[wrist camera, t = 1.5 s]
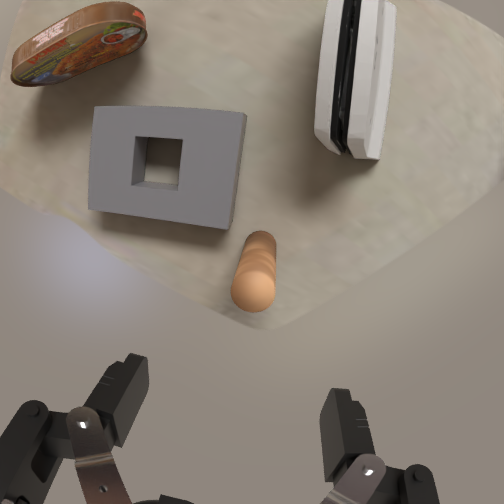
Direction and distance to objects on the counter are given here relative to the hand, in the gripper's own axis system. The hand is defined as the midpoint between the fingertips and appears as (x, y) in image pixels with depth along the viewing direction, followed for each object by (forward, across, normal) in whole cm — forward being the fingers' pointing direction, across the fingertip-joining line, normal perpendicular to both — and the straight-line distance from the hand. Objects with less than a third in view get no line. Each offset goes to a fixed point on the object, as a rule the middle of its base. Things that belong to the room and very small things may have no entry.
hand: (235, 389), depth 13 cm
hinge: (+20, -6, -18) cm, 27 cm away
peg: (+19, 0, 0) cm, 19 cm away
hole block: (+19, +10, -7) cm, 23 cm away
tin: (+20, +20, -18) cm, 33 cm away
